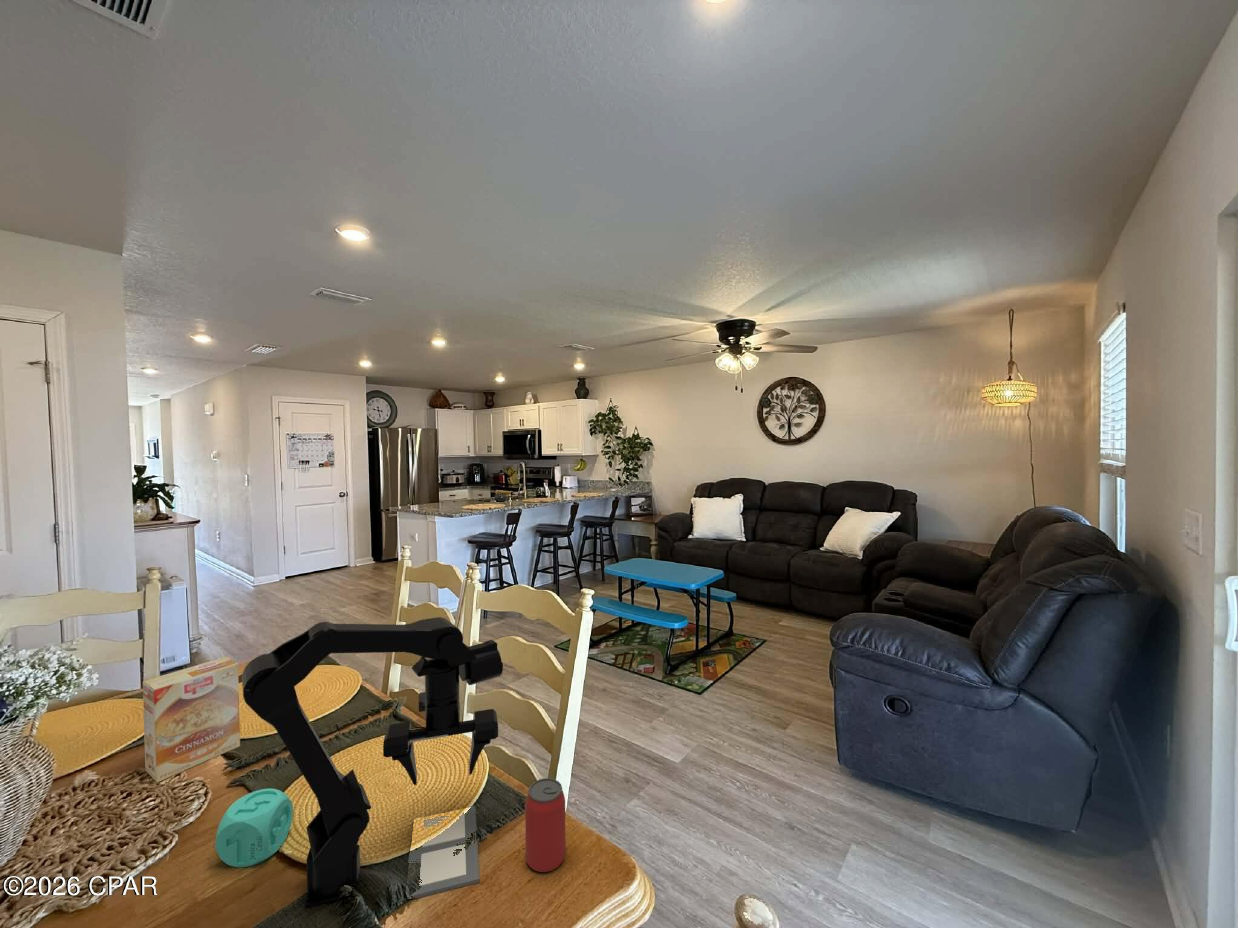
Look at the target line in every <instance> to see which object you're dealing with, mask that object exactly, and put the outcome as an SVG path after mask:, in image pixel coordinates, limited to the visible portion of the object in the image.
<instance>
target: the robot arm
mask: <svg viewBox="0 0 1238 928" xmlns="http://www.w3.org/2000/svg"><path fill="white" fill-rule="evenodd" d="M463 640H464V636H463V633H462V631H461V629H459V628H458V627H457V626H456V625H454V624H453V623H452V622H450V621H449V619H447V618H445V617H441V616H440V617H432V618H425V619H420V620H417V621H414V622H411V623H406V624H394V623H393V624H391V623H390V624H386V623H385V624H383V623H378V624H377V623H373V624H372V623H333V622H329V621H328V622H327V621H321V622H318V623H315V624H313V625H312V626H311V627H309V628H308V629H307V630H305V631H304V632H303V633H300V634H299V635H297V636H295V637H293V638H292V639H289V640H287V641H285V642H283V643H282V644H280V645H279V646H277V647H276V648H275V649H274V650H272V651H270V652H269V653H266V654H265V653H264V654H261V655H258V656H257V657H255V658H253V659H252V660H250V661H249V663H247V665H246V666H245V667H244V669H243V671H242V673H241V682H242V685H241V686H242V698H243V700H244V702H245V704H246V705H247V706H248V707H249V708H250V709H251V710H252V711H253V712H254V713H255V714H256V715H257V716H258V717H259V718H260V719H261V720H263V721H265V722H266V723H267V724H269V725H270V726H272V727H273V728H274V729H275V730H276V732H277V734H278V736H279V737H280V739H281V741H282V742H283V744H284V746H285V748H286V749H287V750H288V752H289V754H290V756H291V757H292V759H293V761H294V762H295V764H296V765H297V767H298V770H299V771H300V772H301V775H302V776H303V777H304V779H305V781H306V782H307V784H308V786H309V787H310V789H311V791H312V793H313V794H314V796H315V797H316V800H317V803H318V806H319V811H318V812H317V813H316V815H315V816H314V817H313V818H312V820H311V821H310V822H309V823H308V825H307V826H306V833H307V838H308V841H309V842H308V843H309V847H310V848H309V850H308V854H307V856H306V858H305V859H306V860H305V861H306V891H307V892H306V895H305V898H304V901H303V907H304V908H308V907H313V906H315V905H319V904H320V905H321V904H323V903H328V902H332V901H336V899H337V900H339V899H338V898H339V897H340V895H338V894H337V893H338V890H339V889H340V887H342V886H344V885H349V886H351V887H353V885H354V886H355V883H356V882H357V881H358V878H359V875H360V870H361V851H360V850H361V849H360V848H361V847H360V845H359V844H358V843H359V840H360V837H361V836H362V835H363V833H364V832H365V830H366V829H367V828H368V824H369V823H370V815H369V811H368V810H371V809H372V806H371V803H370V800H369V798H368V795H367V793H366V790H365V787H364V786H363V784H361V783H360V782H359V781H358V778H357V775H356V773H355V770H354V769H351V770H350V771H349V772H348V773H347V774H346V775H344V774H343V773H341V772H340V771H339V769H337V767H336V765H335V763H334V761H333V760H332V758H331V757H330V755H329V753H328V752H327V750H326V749H327V748H326V747H325V745H324V744H323V742H322V741H321V739H320V737H319V735H318V733H317V732H316V730H315V729H314V727H313V725H312V723H311V721H310V720H309V718H308V716H307V714H306V713H305V711H304V709H303V707H302V705H301V704H300V701H299V698H298V695H297V692H296V688H295V687H296V686H298V684H300V683H301V682H302V681H304V679H306V678H307V677H308V676H309V675H310V674H311V673H312V671H313V670H314V669H315V668H316V667H317V666H319V664H320V663H321V662H322V661H323V660H324V659H325V658H327V657H328V656H330V655H331V654H367V653H368V654H370V653H371V654H372V653H374V654H375V653H376V654H378V653H381V654H382V653H385V654H386V653H406V654H413V655H416V656H419V657H420V659H419V660H418V661H417V662H416V663H414V665H412V666H411V670H412V671H413V673H414V674H415V675H416V676H417V677H418V678H419V677H424V691H423V692H419V693H418V712H419V713H422V712H425V713H424V717H425V722H424V723H425V727H419V728H413V729H412V723H411V721H406V722H399V723H392V724H389V725H388V727H386V728H385V729H386V730H385V733H384V739H383V743H382V744H383V745H382V749H383V750H382V751H383V752H382V755H383V757H384V758H390V757H391V759H392V761H394V762H395V761H398V762H399V763H400V764H401V766H402V767H403V768H404V769H405V771H406V773H407V774H408V777H409V778H410V781H411V783H412V784H413V786H417V784H418V771H417V765H416V758H415V757H416V756H415V749H414V747H415V746H414V742H421V741H427V740H432V739H440V738H446V737H450V736H455V735H463V734H468V733H469V734H470V733H471V743H470V744H471V745H470V750H469V751H470V753H469V760H468V774H469V776H471V775H473V773H474V770H475V766H476V764H477V761H478V759H479V757H480V754H481V753H482V751H483V749H484V748H485V746H487V745H489V744H491V743H492V742H491V741H492V740H496V739H497V738H498V737H499V721H498V716H497V711H496V710H495V709H494V708H490V709H483V710H477V711H473V712H474V713H473V715H474V716H473V719H469V720H464V721H461V719H460V718H461V706H460V704H461V703H460V701H461V700H460V680H461V681H462V682H466V684H468V686H473V685H476V684H480V683H483V682H487V681H489V680H493V679H496V678H500V677H501V676H502V674H503V670H504V663H503V661H502V657H501V654H500V651H499V648H498V643H497V642H496V641H495V640H493V639H488V640H486V641H484V642H481V643H478V644H472V645H471V646H470V645H469V646H468V645H467V644H465V642H464V641H463ZM354 882H355V883H354ZM353 888H354V887H353Z"/></svg>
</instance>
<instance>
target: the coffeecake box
mask: <svg viewBox="0 0 1238 928" xmlns="http://www.w3.org/2000/svg"><path fill="white" fill-rule="evenodd" d="M239 687H240V683H239V663H238V662H236V661H234V660H232V659H230V658H229V657H227V656H223V657H220V658H218V659H214V660H211V661H207V662H203V663H200V664H197V665H194V666H188V667H186V668H183V669H180V670H177V671H173V672H169V673H167V674H163V675H160V676H157V677H153V678H150V679H146V680H143V681H142V702H143V703H142V704H143V705H142V707H143V732H144V733H143V734H144V735H143V736H144V740H143V741H144V766H145V767H144V768H145V772H146V773H148V775H149V776H150V777H151V778H152V779H153V780H154V781H155V782H156V783H159V782H161V781H164V780H166V779H168V778H170V777H172V776H175V775H178V774H180V773H182V772H184V771H186V770H188V769H191V768H193V767H197V765H200V764H202V763H204V762H207V761H209V760H211V759H213V758H216V757H218V756H221V755H222V754H225V753H228V752H230V751H232V750H234V749H237V748H239V747H241V728H240V722H241V721H240V720H241V719H240V691H239V690H240V688H239Z"/></svg>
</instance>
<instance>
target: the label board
mask: <svg viewBox="0 0 1238 928" xmlns="http://www.w3.org/2000/svg"><path fill="white" fill-rule="evenodd" d="M476 811H477V810H476V805H471V808H470V809H469V810H468V812H467V813H465V814H464V812H463V813H462V815H461V816H459V819H457V820H456V822H454V823H453V824H452V825H451V826H450V827H449V828H447V829H445V831H443V832H442V833H441V834H439V835H437V836H436V837H435V838H433V839H431V840H430V841H429V840H428V841H427V842H425V843H424V844H423V845H422V847H421V848H419V849H417V850H414V851H412V852H410V853H408V861H407V864H408V863H416V862H417V861H418V862H419V861H421V862H419V863H421V867H420V879H421V880H422V881H421V880H419V881H421V882H422V883H421V882H420V883H419V884H420V885H421V886H422V888H420V889H419V890H418V891H416V892H414V893H413V894H412V895H411V896H413V897H415V898H416V899H420V898H424V897H427V896H431V895H436V894H440V893H442V892H448V891H451V890H454V889H455V890H456V889H458V888H462V887H467V886H471V885H475V884H478V883H480V867H479V866H480V864H479V848H478V846H479V844H478V840H477V841H476V842H475V843H473V844H472V846H471V847H470V848H469V849H467V850H465V848H464V847H465V844H463V845H458V846H457V845H456V844H460V843H461V844H462V843H464V842H463V841H465V840H470V839H467V838H470V837H471V833H473V832H474V830H477V829H478V828H477V813H476ZM445 817H449V816H441V817H440V819H439V817H436V818H438V819H435V818H434V819H433V818H432V819H427V820H428V821H427V820H424V827H428V826H429V827H430V826H436V825H432V824H436V823H437V826H438V823H440V822H438V821H442V820H443V819H441V818H445ZM450 817H451V816H450ZM444 820H445V819H444ZM444 820H443V821H444ZM430 821H431V822H430ZM432 821H433V822H432ZM434 821H435V822H434ZM436 821H437V822H436ZM430 823H431V825H430ZM441 823H442V822H441ZM428 824H429V825H428ZM425 829H426V828H425ZM456 849H462V851H460V853H459V854H458V855H456V854H455V856H453V855H454V854H453V852H456V851H454V850H456ZM416 859H417V860H416ZM418 859H419V860H418ZM420 859H421V860H420ZM409 861H410V862H409ZM411 861H412V862H411ZM413 861H414V862H413ZM415 861H416V862H415ZM418 862H417V863H418ZM420 885H419V886H420Z"/></svg>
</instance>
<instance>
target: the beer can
mask: <svg viewBox="0 0 1238 928" xmlns="http://www.w3.org/2000/svg"><path fill="white" fill-rule="evenodd" d="M524 807H525V808H524V809H525V812H524V813H525V814H524V815H525V816H524V817H525V820H524V822H525V823H524V824H525V827H524V828H525V861H526V863H527V865H528V867H529V868H531V869H532V870H533V871H536V872H539V873H547V872H551V871H553V870H555V869H557V868H558V867H559V866H560V865H561V864H562V863H563V861H564V860H565V857H566V797H565V793H564V790H563V787H562V784H561V782H560V781H559V780H557V779H555V778H550V777H545V778H539V779H537V780H535V781H534V782H533V783H532V784H531V785H530V786H529V788H528V794H527V796H526V800H525V805H524Z"/></svg>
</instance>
